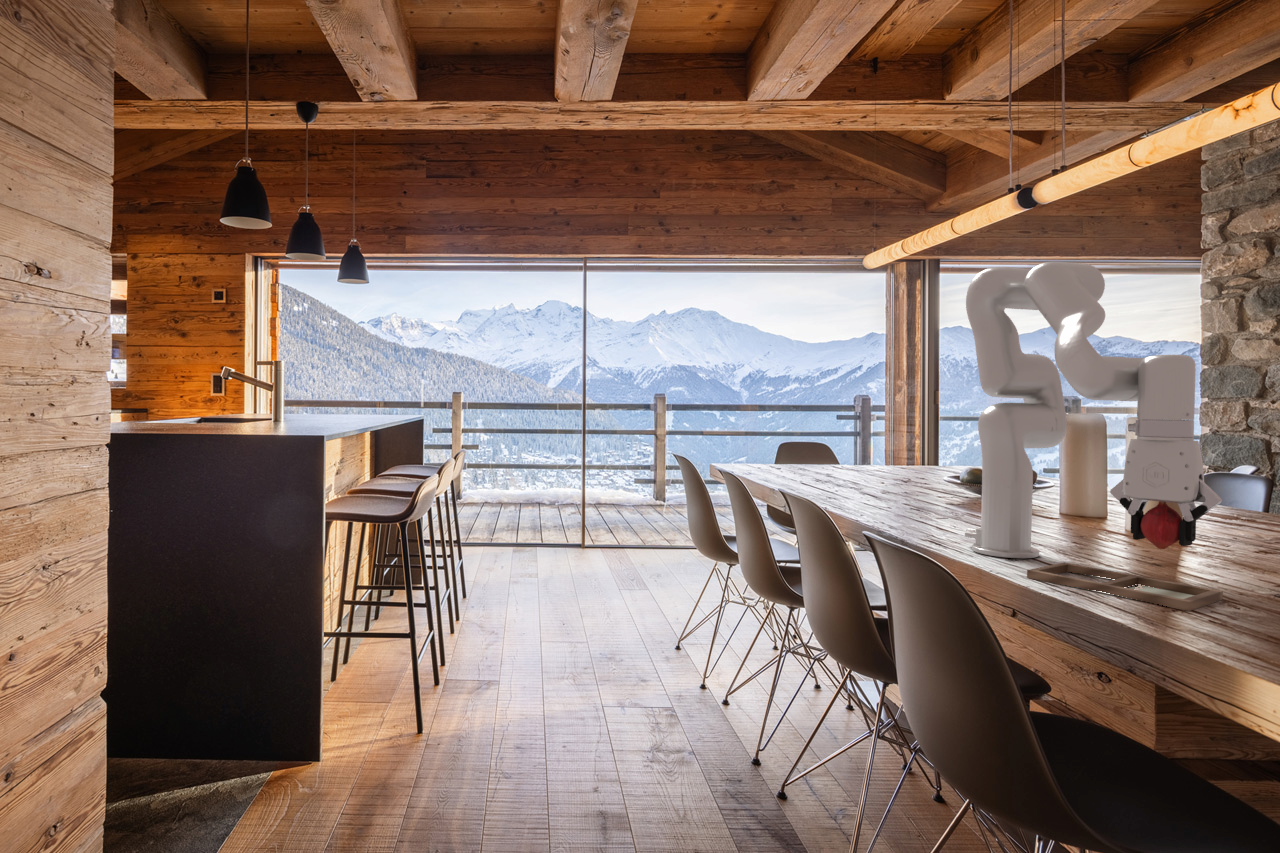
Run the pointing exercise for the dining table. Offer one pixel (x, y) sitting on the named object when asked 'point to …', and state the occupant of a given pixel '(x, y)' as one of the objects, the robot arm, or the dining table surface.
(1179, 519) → the onion
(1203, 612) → the dining table surface
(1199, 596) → the rail frame
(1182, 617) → the dining table surface
